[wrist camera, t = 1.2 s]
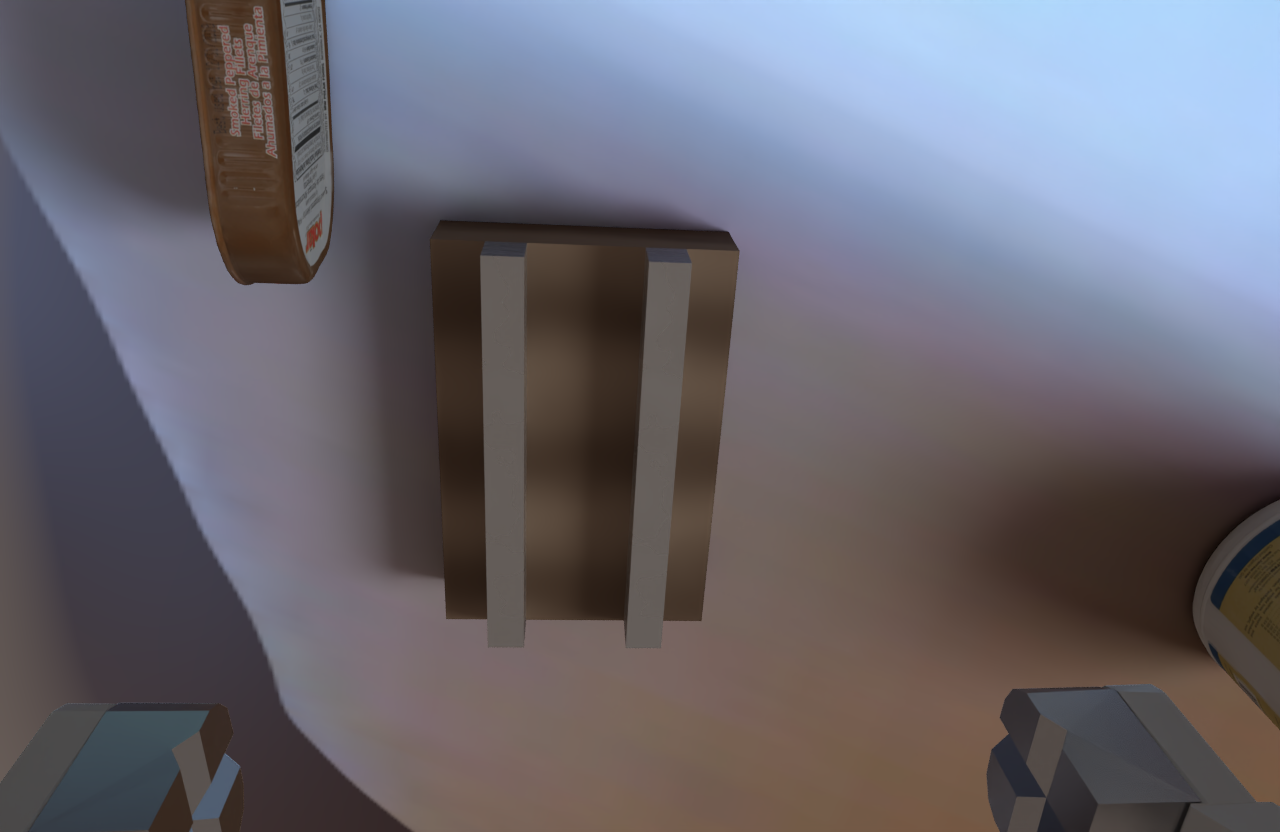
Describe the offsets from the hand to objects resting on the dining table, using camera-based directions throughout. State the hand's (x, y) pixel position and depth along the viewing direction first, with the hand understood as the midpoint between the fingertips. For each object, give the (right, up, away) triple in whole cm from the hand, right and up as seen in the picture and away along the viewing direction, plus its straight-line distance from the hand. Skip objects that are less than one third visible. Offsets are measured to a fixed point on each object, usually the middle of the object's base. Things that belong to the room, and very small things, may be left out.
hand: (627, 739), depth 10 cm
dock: (-3, +3, +33) cm, 33 cm away
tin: (-13, +17, +26) cm, 33 cm away
